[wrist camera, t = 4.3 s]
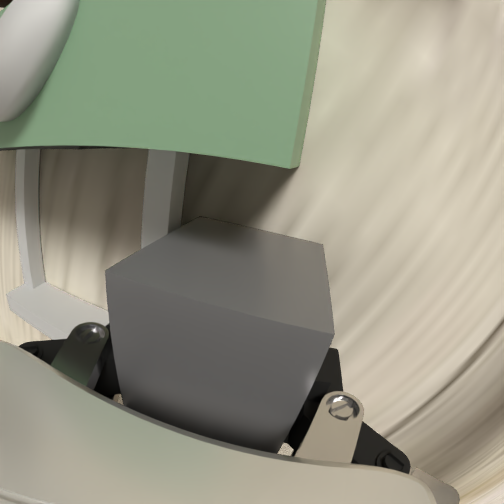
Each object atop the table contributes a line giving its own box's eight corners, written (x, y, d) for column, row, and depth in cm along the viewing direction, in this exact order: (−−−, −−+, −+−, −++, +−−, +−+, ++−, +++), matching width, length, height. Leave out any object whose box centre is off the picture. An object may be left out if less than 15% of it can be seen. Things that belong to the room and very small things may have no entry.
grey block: (322, 244, 11) (336, 360, 4) (282, 376, 13) (257, 496, 7) (199, 216, 11) (82, 284, 5) (187, 350, 14) (122, 450, 7)
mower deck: (327, -8, 7) (327, -105, 2) (252, 376, 13) (219, 475, 8) (24, 42, 10) (-37, 35, 4) (11, 275, 16) (-42, 305, 10)
